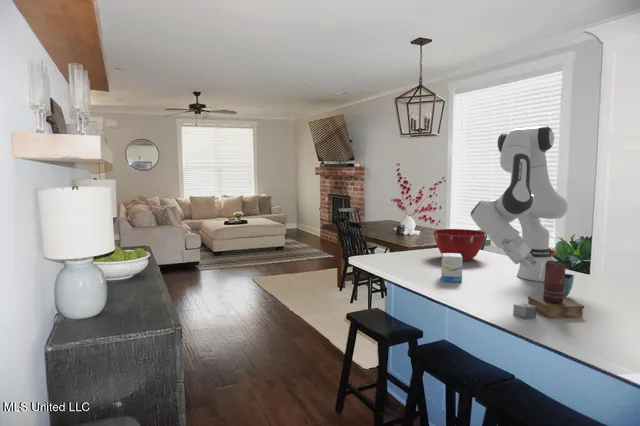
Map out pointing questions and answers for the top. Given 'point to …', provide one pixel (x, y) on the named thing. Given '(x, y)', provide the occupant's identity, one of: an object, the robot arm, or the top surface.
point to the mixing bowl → (459, 241)
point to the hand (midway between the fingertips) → (534, 267)
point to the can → (554, 282)
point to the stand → (556, 307)
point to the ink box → (451, 267)
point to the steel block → (524, 310)
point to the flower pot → (568, 284)
